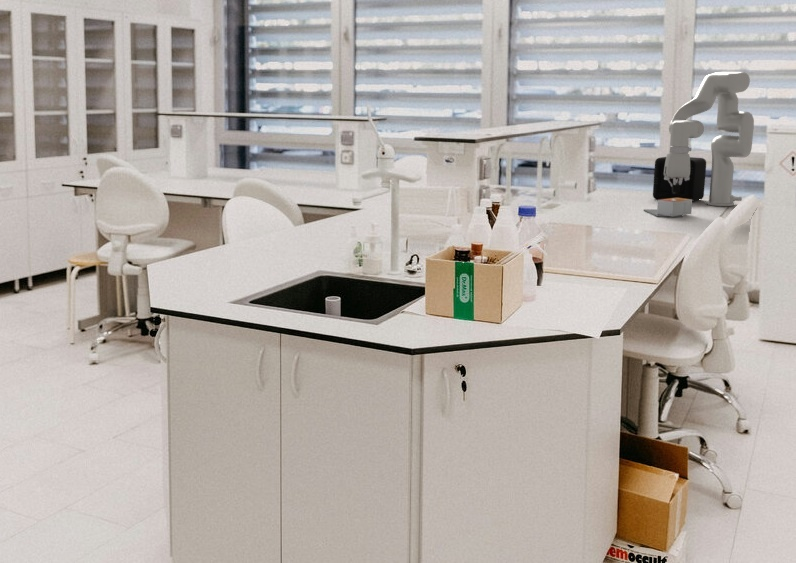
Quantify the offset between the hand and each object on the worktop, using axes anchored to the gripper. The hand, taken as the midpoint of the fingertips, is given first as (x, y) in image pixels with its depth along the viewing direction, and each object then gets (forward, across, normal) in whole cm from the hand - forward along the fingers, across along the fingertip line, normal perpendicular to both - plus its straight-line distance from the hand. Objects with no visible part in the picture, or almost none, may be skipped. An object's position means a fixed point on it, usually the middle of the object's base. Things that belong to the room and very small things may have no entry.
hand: (675, 193), depth 391 cm
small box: (+5, -4, +2) cm, 6 cm away
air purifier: (+9, -17, -45) cm, 49 cm away
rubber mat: (+9, +5, 0) cm, 10 cm away
